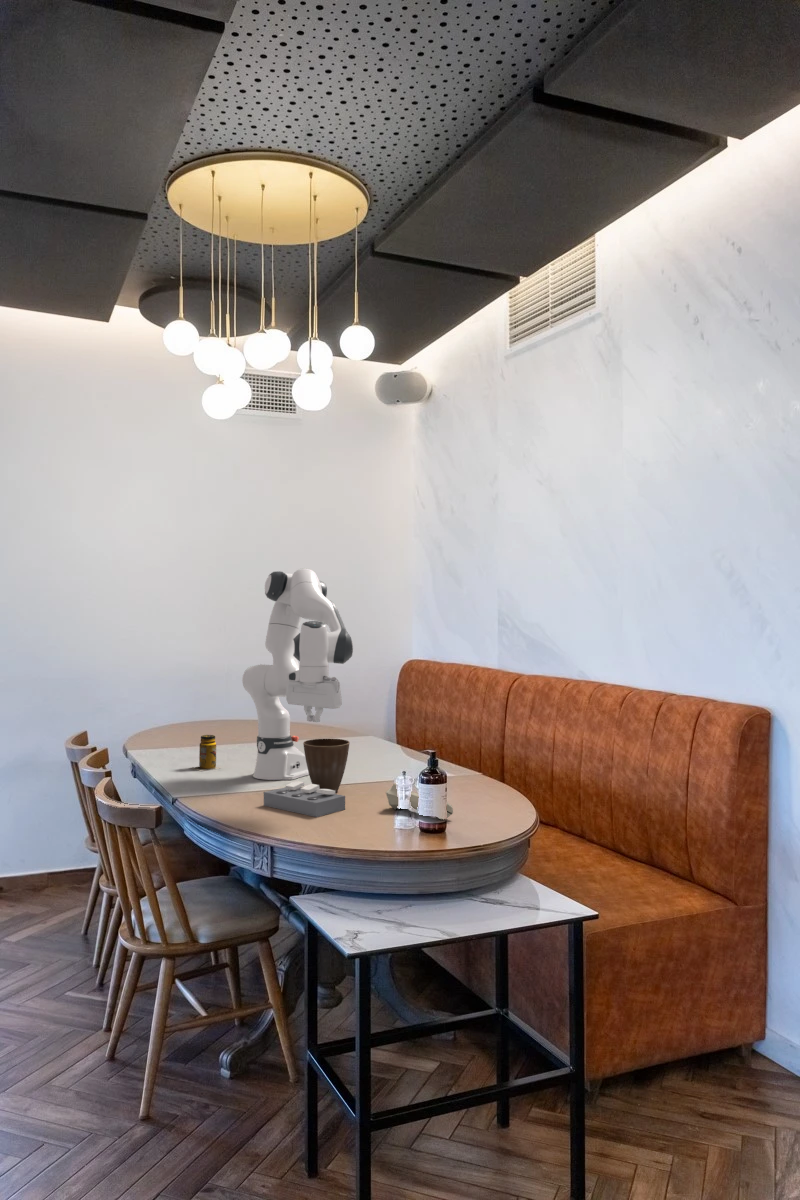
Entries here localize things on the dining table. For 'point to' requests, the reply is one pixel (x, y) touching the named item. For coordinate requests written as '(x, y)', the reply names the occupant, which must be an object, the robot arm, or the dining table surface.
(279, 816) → the dining table surface
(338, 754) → the plant pot
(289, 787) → the rocker
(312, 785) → the rocker
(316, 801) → the switch panel
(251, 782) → the dining table surface
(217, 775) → the dining table surface
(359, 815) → the dining table surface
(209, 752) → the condiment
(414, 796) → the faceted club
